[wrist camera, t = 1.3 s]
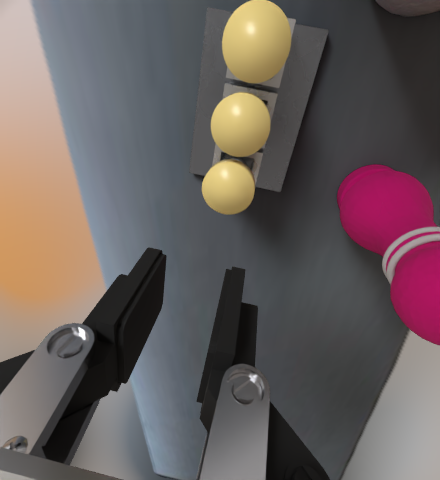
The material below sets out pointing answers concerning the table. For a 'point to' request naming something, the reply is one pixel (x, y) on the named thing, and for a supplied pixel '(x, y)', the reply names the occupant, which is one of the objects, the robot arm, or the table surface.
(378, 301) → the table surface
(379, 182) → the pepper mill
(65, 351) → the robot arm
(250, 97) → the knob
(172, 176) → the table surface
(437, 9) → the pillar candle
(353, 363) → the table surface
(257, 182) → the mount plate
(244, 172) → the knob
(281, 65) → the knob
